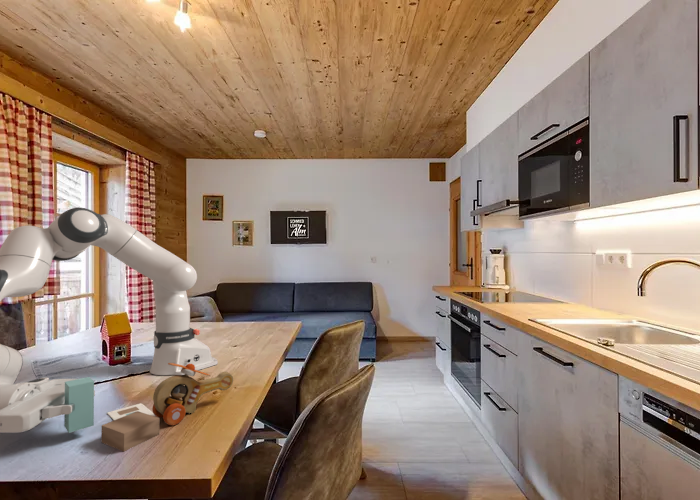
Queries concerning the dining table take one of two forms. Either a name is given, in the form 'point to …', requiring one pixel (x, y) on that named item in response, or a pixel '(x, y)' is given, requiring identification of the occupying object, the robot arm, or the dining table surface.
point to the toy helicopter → (184, 393)
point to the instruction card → (130, 411)
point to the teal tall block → (79, 404)
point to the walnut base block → (130, 430)
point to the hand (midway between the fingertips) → (83, 401)
